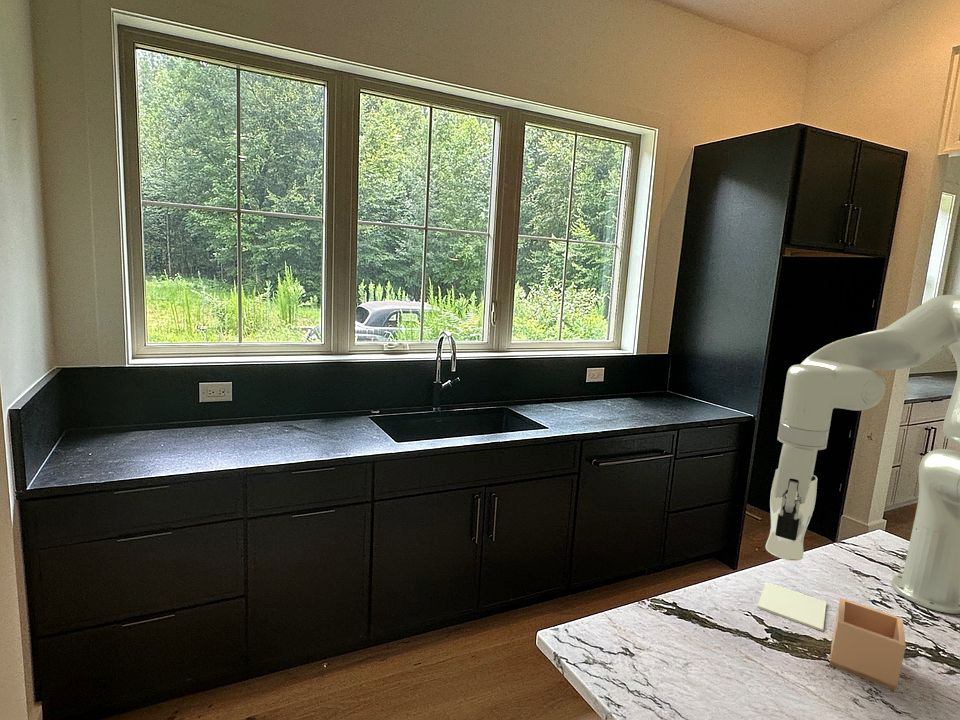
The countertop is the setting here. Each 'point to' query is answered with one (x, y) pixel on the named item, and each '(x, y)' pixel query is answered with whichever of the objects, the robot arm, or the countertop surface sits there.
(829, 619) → the countertop surface
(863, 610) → the open box
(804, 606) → the plain cream tile
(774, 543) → the beer glass
